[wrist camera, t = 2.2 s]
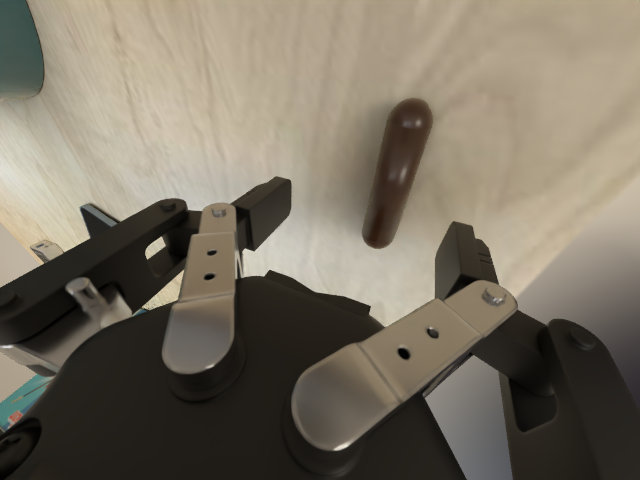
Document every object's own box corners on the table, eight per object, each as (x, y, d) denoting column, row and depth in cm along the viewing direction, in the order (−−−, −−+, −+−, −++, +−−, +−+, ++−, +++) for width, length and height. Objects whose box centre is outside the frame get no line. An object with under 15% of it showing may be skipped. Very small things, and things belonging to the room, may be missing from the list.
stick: (385, 93, 12) (407, 102, 10) (422, 95, 13) (450, 104, 11) (354, 237, 18) (366, 257, 16) (381, 234, 18) (395, 253, 17)
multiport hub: (77, 278, 54) (65, 285, 52) (43, 239, 47) (28, 246, 45) (90, 284, 52) (78, 291, 51) (56, 244, 46) (41, 251, 44)
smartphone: (100, 265, 41) (76, 203, 31) (106, 261, 42) (84, 199, 31) (136, 289, 41) (125, 235, 31) (141, 285, 42) (132, 231, 31)
